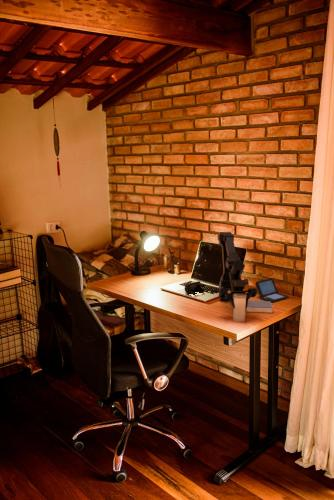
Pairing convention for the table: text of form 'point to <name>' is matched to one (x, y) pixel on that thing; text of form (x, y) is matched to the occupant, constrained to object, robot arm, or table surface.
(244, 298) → the pen cup
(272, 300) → the handheld game console
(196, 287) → the end cap
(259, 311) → the gray book
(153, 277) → the table surface
